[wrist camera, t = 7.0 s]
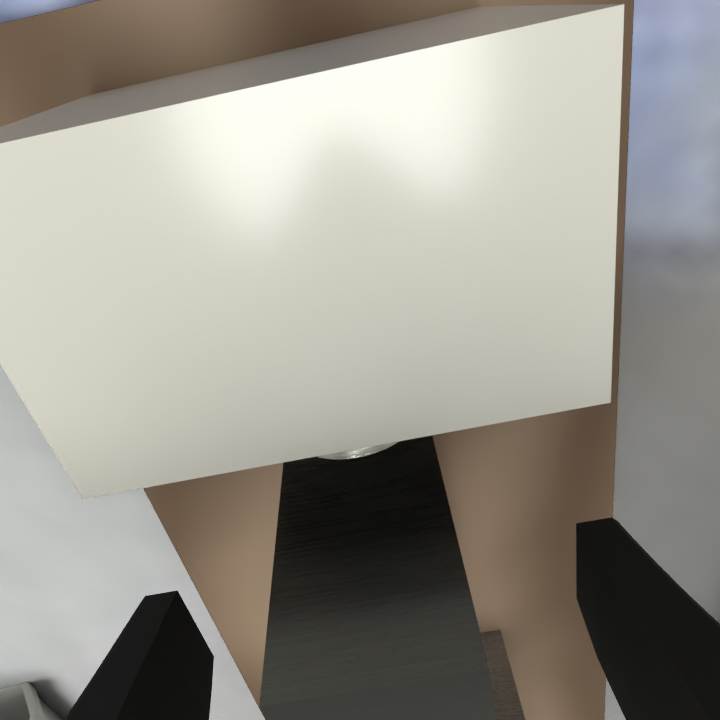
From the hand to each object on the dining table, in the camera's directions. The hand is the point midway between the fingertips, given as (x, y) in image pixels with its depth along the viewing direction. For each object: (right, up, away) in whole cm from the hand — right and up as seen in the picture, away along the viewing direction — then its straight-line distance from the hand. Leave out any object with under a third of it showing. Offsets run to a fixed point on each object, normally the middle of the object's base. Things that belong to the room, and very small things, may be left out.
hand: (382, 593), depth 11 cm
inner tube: (0, 0, +6) cm, 6 cm away
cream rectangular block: (-2, +9, +3) cm, 10 cm away
